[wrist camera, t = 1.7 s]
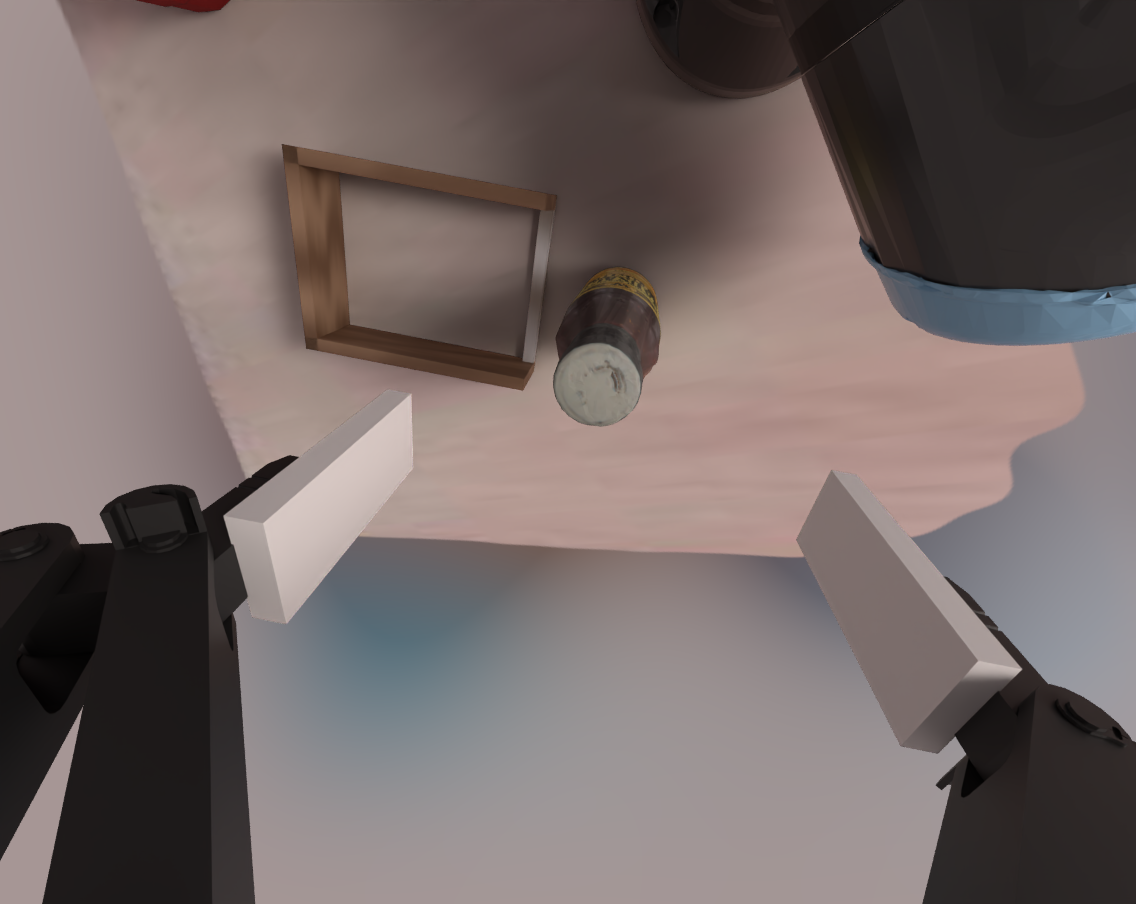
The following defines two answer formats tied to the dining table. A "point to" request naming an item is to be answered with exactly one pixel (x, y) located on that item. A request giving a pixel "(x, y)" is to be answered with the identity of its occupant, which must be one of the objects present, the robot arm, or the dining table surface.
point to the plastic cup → (191, 4)
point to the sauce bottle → (607, 347)
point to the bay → (326, 278)
